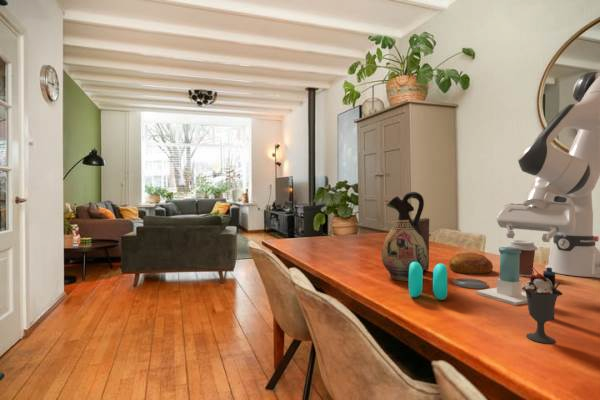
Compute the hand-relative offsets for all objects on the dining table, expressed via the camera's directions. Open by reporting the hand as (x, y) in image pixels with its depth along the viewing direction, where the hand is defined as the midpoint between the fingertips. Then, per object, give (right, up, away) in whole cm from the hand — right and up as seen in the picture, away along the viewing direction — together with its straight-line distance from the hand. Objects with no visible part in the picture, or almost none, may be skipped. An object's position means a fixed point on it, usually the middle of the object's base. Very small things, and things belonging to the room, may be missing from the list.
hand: (526, 238), depth 106 cm
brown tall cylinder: (-22, -16, +30) cm, 40 cm away
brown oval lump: (-2, -16, +31) cm, 35 cm away
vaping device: (-8, -17, -19) cm, 27 cm away
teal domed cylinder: (-7, -11, -3) cm, 14 cm away
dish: (-12, -16, +10) cm, 22 cm away
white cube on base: (-7, -16, -3) cm, 18 cm away
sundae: (-18, -17, -32) cm, 41 cm away
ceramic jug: (-30, -16, +18) cm, 39 cm away
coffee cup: (+13, -16, +24) cm, 32 cm away
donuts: (-31, -17, -4) cm, 35 cm away
